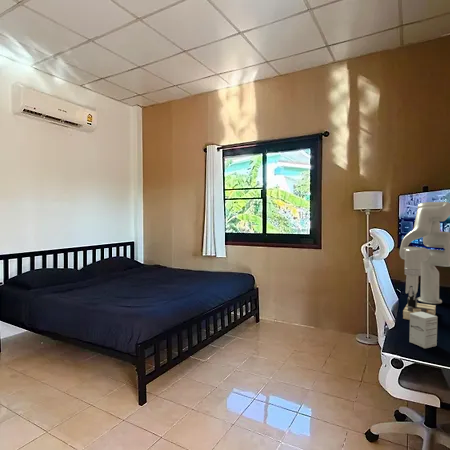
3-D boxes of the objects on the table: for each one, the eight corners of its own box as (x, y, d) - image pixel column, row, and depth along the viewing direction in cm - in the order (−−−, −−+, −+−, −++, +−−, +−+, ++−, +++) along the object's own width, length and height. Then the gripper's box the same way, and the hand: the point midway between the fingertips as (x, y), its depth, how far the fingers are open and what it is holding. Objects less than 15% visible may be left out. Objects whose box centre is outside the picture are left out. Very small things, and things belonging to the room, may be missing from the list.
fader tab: (408, 304, 179) (408, 296, 179) (416, 306, 177) (417, 297, 176) (407, 306, 176) (407, 298, 176) (416, 307, 174) (416, 299, 174)
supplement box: (408, 342, 141) (409, 313, 140) (421, 339, 143) (421, 310, 143) (424, 349, 134) (425, 318, 133) (437, 346, 136) (438, 315, 136)
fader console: (408, 308, 186) (408, 298, 186) (435, 312, 179) (435, 301, 179) (403, 318, 170) (403, 307, 170) (432, 323, 163) (432, 311, 162)
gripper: (406, 268, 184) (406, 301, 185) (402, 273, 171) (402, 308, 172) (422, 270, 180) (422, 303, 181) (419, 275, 167) (418, 311, 168)
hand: (412, 305), depth 176 cm, fingers closed on fader tab, 3 cm apart
